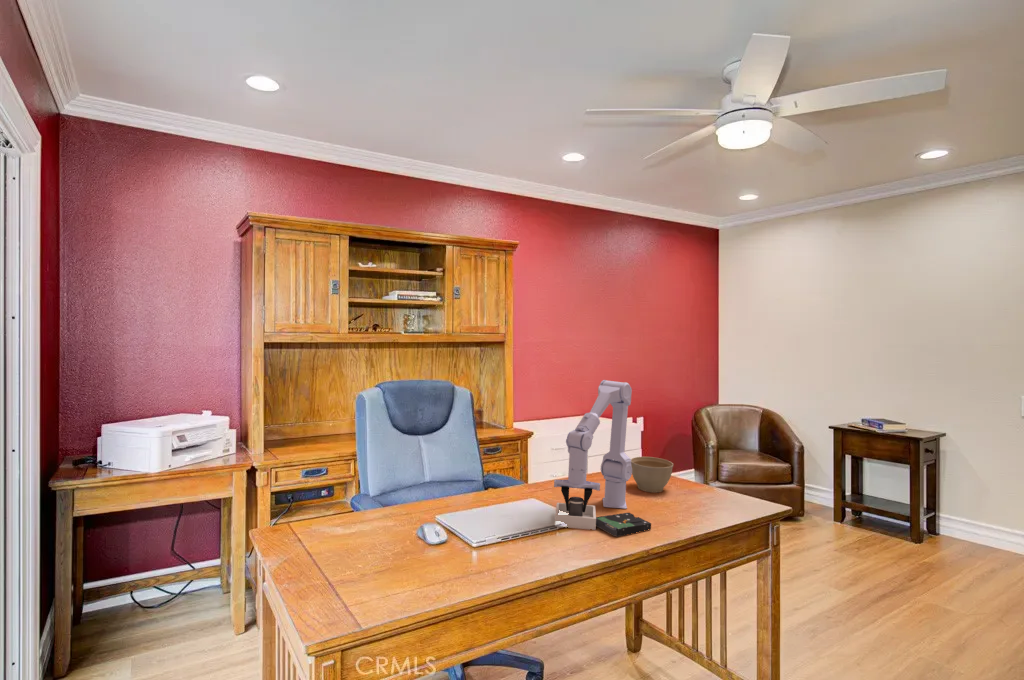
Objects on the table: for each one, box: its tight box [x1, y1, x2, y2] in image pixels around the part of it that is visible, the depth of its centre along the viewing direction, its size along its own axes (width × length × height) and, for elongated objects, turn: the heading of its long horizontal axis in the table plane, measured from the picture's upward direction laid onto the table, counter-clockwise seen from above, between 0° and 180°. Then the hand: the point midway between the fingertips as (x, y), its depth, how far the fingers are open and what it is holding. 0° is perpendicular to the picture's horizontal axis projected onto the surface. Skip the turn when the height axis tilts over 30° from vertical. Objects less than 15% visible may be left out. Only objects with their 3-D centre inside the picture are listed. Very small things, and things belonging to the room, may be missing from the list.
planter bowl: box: [630, 456, 674, 494], centre depth 219 cm, size 16×16×11 cm
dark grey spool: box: [568, 496, 584, 517], centre depth 180 cm, size 5×5×6 cm
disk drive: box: [596, 512, 652, 537], centre depth 176 cm, size 10×3×15 cm
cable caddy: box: [554, 502, 597, 531], centre depth 180 cm, size 13×13×4 cm
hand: (575, 510), depth 180 cm, fingers closed on dark grey spool, 4 cm apart
